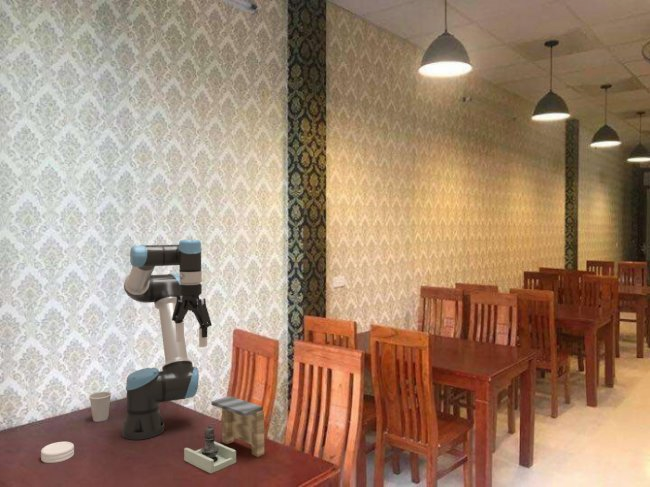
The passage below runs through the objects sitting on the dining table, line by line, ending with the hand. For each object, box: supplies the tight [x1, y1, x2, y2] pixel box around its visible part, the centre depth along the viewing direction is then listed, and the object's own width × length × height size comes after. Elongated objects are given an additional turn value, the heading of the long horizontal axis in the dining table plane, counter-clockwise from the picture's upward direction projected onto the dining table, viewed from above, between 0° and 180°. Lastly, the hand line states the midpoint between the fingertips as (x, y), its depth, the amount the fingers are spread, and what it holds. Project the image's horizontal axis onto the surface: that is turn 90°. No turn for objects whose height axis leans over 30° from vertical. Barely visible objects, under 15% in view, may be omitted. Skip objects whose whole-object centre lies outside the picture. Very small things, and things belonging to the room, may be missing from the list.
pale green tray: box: [183, 440, 237, 475], centre depth 171 cm, size 14×10×4 cm
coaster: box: [40, 441, 75, 464], centre depth 176 cm, size 10×10×4 cm
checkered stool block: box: [211, 395, 265, 457], centre depth 180 cm, size 19×8×16 cm, turn 49°
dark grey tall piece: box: [200, 423, 219, 462], centre depth 171 cm, size 6×6×12 cm
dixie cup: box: [88, 391, 112, 423], centre depth 210 cm, size 8×8×10 cm
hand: (191, 343), depth 182 cm, fingers open, 13 cm apart
